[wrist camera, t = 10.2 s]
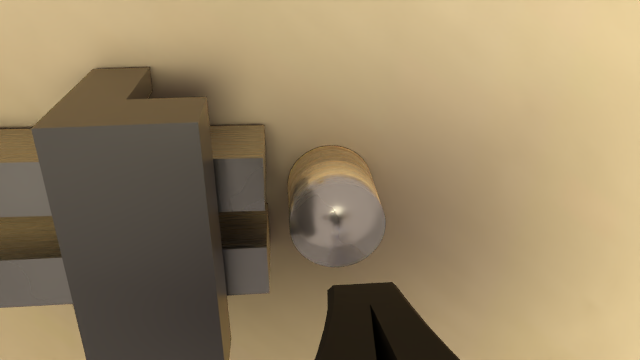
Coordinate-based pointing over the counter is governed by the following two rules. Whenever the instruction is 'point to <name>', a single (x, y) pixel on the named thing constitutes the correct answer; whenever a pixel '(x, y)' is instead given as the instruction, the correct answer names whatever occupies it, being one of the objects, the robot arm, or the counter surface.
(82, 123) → the grey stepped block
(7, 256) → the tongs base
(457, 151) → the counter surface
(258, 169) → the bar
